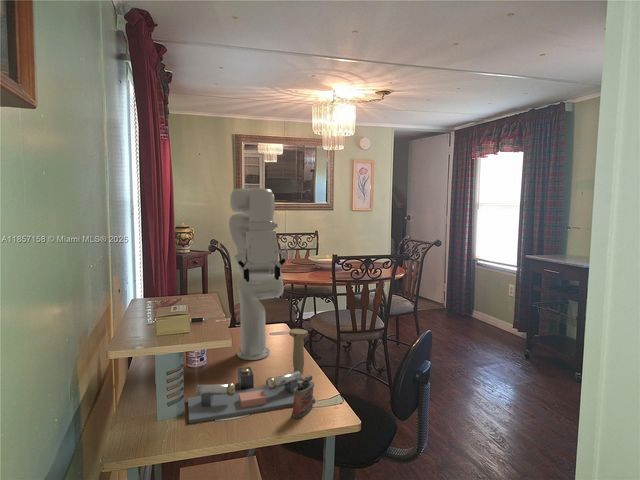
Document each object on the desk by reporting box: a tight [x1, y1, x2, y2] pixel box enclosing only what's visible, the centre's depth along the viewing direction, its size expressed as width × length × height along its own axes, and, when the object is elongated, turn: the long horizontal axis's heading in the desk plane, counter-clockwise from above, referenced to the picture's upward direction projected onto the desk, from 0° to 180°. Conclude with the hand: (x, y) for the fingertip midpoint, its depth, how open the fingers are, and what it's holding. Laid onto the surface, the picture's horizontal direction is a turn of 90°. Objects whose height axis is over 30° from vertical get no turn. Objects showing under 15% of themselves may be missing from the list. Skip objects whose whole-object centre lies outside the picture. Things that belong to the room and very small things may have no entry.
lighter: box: [291, 374, 315, 419], centre depth 117 cm, size 8×3×10 cm, turn 147°
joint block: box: [237, 366, 255, 390], centre depth 134 cm, size 4×6×6 cm, turn 19°
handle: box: [288, 328, 309, 375], centre depth 143 cm, size 5×6×15 cm
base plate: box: [187, 385, 316, 424], centre depth 123 cm, size 13×36×3 cm, turn 109°
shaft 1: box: [195, 382, 236, 407], centre depth 121 cm, size 11×4×7 cm, turn 94°
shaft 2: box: [265, 371, 302, 394], centre depth 127 cm, size 11×4×7 cm, turn 124°
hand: (262, 280), depth 134 cm, fingers open, 9 cm apart
